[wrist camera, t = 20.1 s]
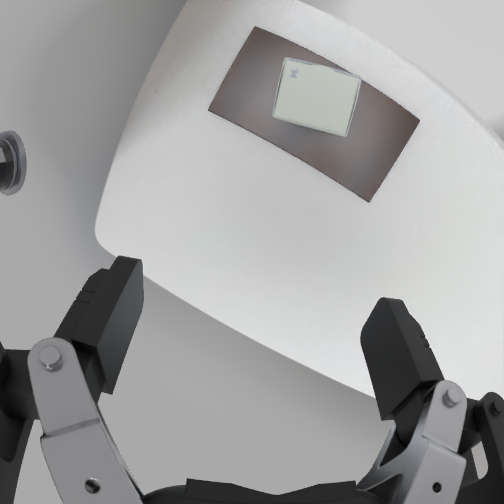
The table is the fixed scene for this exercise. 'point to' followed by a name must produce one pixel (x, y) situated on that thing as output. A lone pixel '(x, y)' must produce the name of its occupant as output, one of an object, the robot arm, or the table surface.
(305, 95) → the box
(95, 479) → the robot arm
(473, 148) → the table surface
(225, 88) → the walnut board
